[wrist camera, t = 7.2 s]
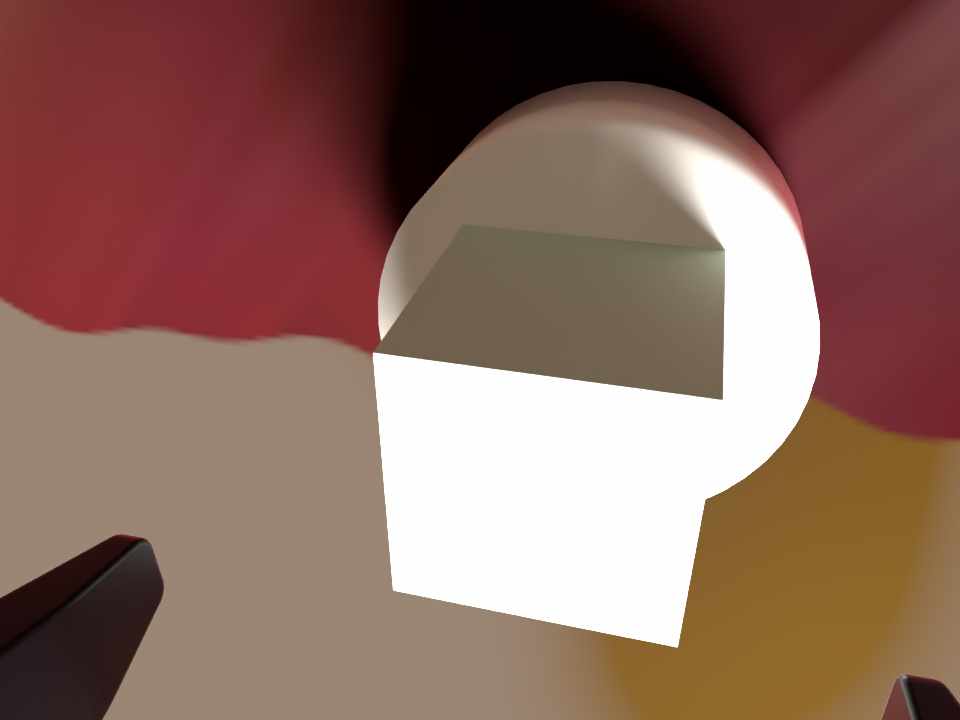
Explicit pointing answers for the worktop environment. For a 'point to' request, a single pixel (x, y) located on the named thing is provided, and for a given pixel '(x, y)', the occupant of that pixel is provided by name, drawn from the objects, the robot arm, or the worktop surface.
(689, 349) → the white cube
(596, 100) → the cream tin
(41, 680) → the robot arm
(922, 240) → the worktop surface
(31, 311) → the worktop surface
